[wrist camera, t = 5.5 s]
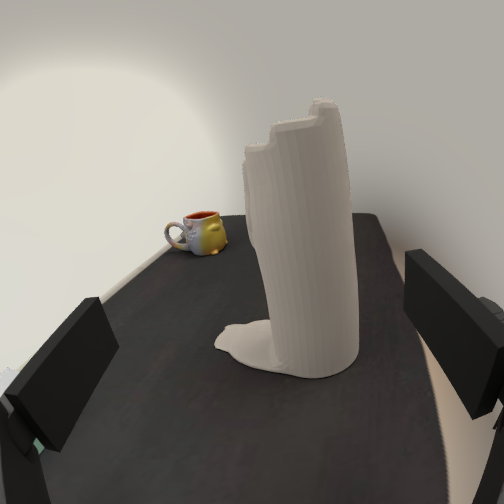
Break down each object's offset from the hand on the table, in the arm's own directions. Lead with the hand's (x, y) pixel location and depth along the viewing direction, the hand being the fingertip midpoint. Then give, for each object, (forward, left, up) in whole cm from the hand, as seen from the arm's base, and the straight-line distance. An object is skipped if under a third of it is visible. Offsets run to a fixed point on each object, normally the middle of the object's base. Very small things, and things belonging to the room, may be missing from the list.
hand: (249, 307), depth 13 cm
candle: (+12, -2, -12) cm, 17 cm away
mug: (+45, +6, -12) cm, 47 cm away
